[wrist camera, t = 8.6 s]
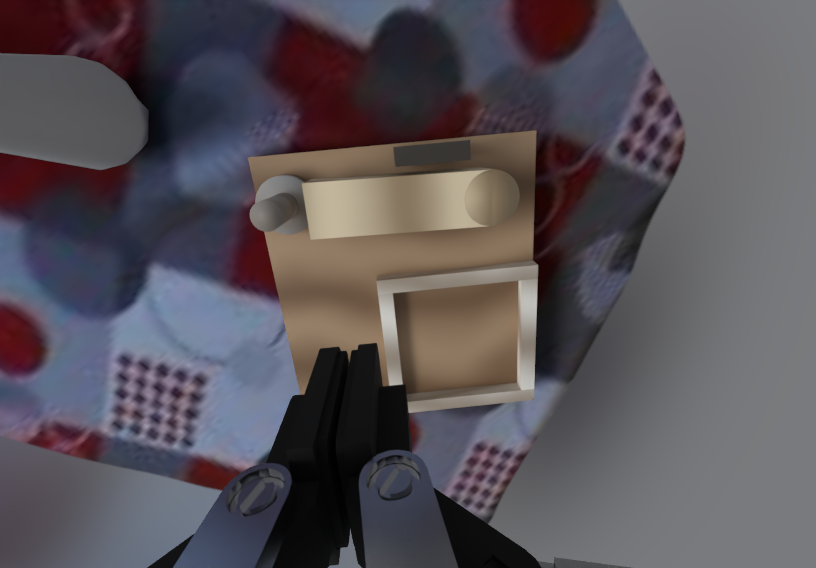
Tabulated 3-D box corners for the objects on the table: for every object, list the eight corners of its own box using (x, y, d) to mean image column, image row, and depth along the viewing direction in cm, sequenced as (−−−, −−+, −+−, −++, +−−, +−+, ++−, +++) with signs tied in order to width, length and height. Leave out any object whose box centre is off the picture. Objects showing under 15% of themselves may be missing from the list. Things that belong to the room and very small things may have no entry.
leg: (320, 228, 23) (310, 239, 20) (312, 179, 22) (301, 183, 19) (503, 215, 24) (518, 224, 21) (504, 165, 23) (520, 167, 20)
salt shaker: (184, 143, 24) (-27, 137, 12) (110, 182, 25) (-163, 215, 12) (123, 47, 22) (-204, -78, 10) (45, 92, 23) (-355, 26, 10)
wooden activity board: (255, 157, 24) (211, 159, 18) (528, 131, 25) (573, 125, 19) (310, 408, 31) (290, 470, 25) (522, 386, 32) (554, 442, 26)
